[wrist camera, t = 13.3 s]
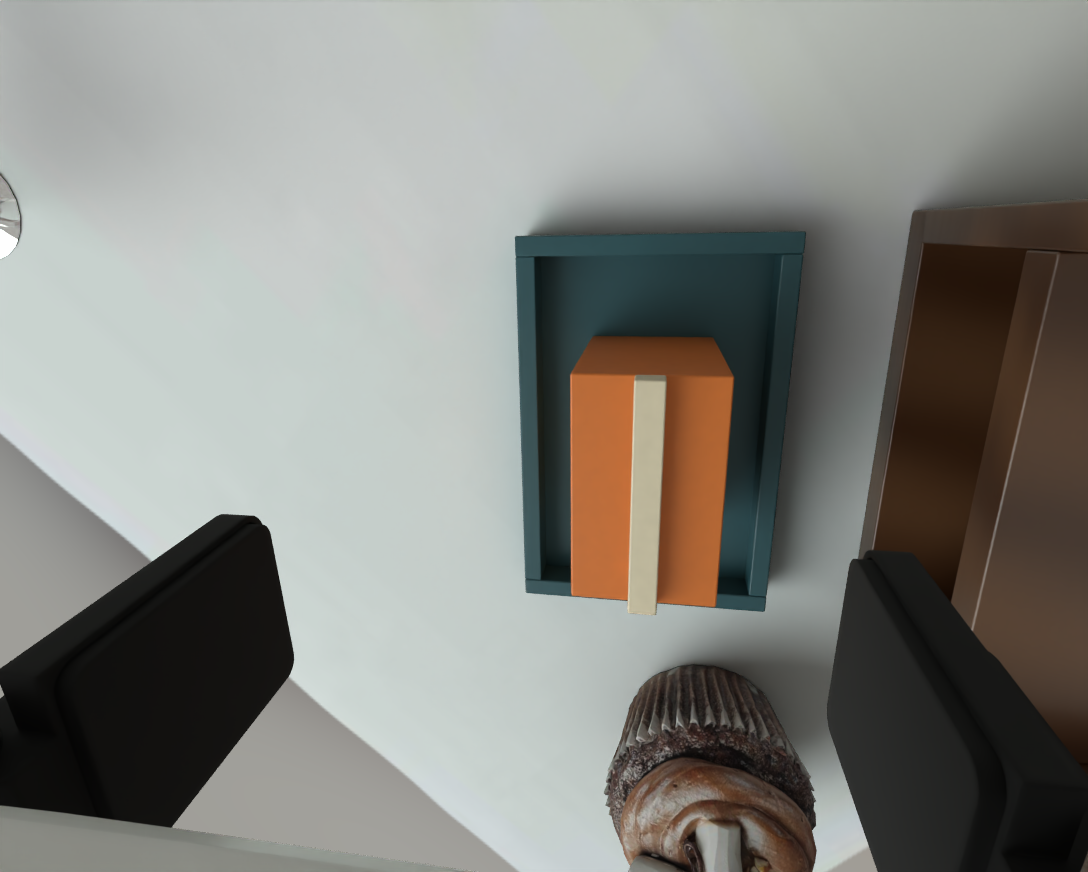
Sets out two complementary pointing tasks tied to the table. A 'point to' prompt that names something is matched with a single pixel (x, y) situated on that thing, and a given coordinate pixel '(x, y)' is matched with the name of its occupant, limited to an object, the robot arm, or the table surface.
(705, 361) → the packet
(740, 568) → the tray
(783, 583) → the table surface
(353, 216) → the table surface
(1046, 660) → the shelf
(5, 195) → the wineglass
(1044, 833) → the robot arm
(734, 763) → the cupcake
